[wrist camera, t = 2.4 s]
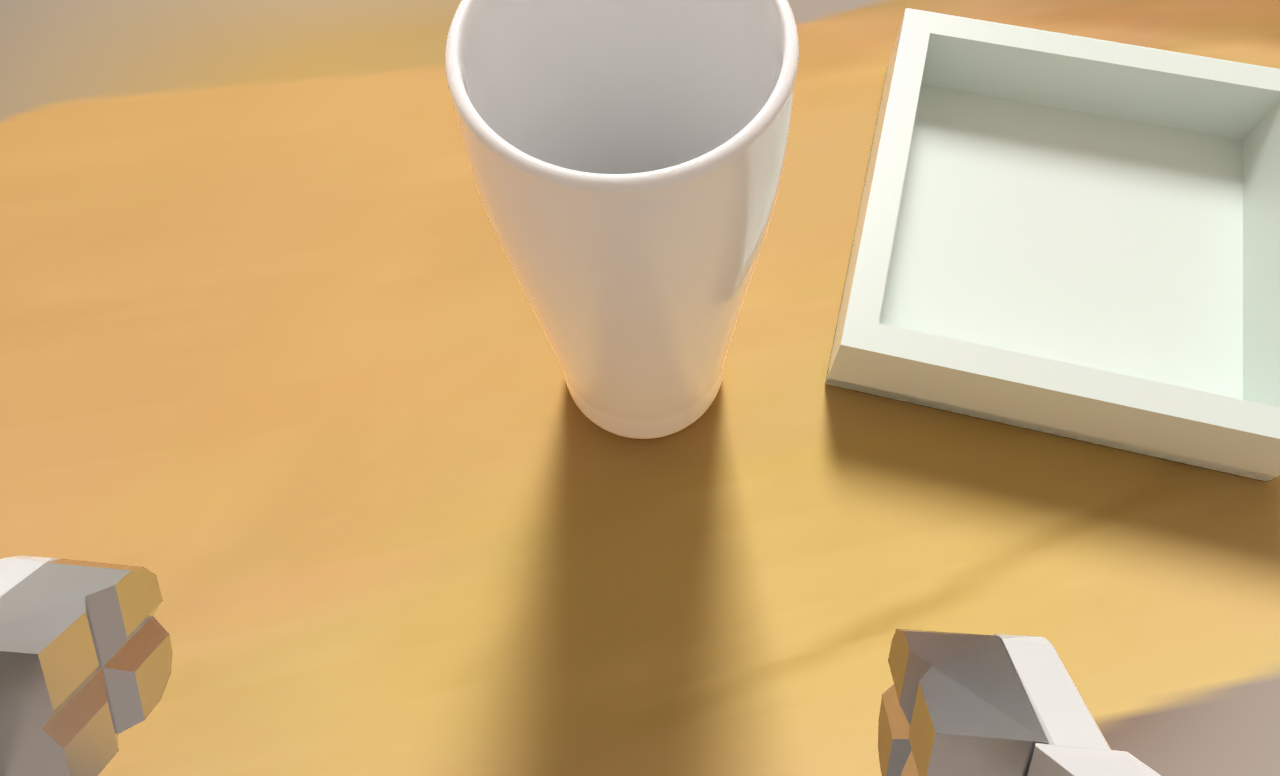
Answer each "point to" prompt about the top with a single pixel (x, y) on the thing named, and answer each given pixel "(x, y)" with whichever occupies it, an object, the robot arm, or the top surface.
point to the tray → (1072, 242)
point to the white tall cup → (629, 181)
